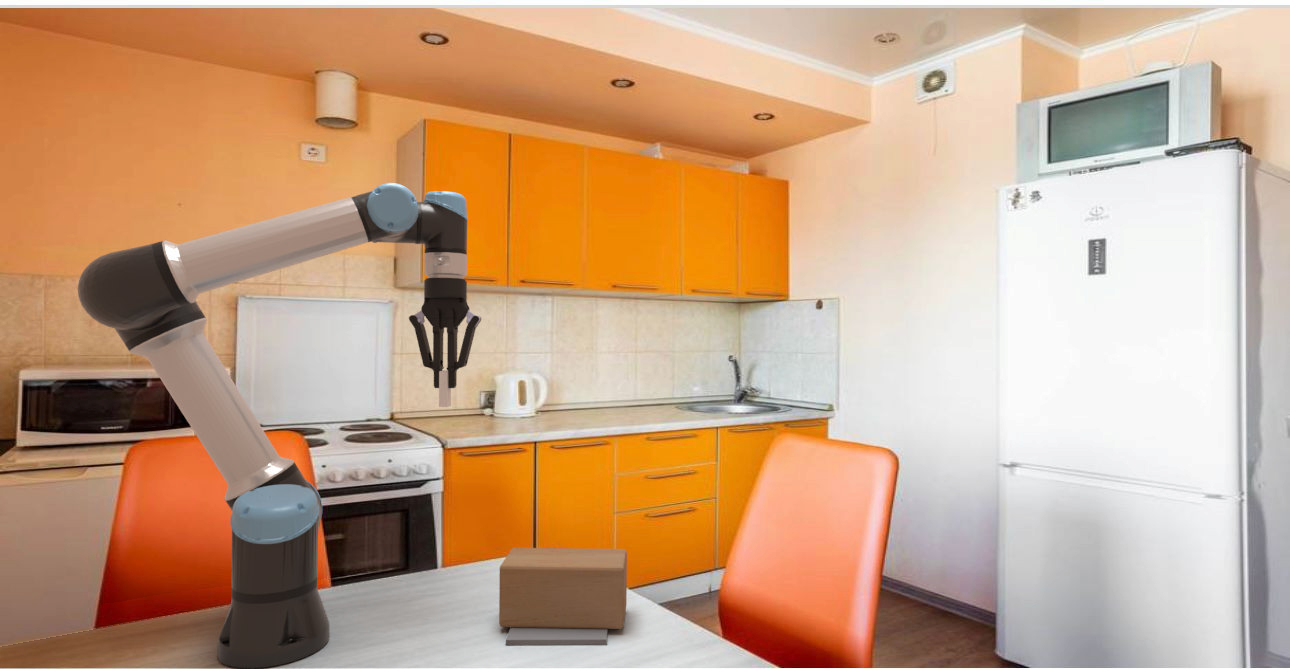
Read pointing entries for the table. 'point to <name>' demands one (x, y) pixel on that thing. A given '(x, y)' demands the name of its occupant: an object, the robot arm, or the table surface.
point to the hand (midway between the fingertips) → (445, 406)
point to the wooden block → (563, 588)
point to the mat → (556, 636)
